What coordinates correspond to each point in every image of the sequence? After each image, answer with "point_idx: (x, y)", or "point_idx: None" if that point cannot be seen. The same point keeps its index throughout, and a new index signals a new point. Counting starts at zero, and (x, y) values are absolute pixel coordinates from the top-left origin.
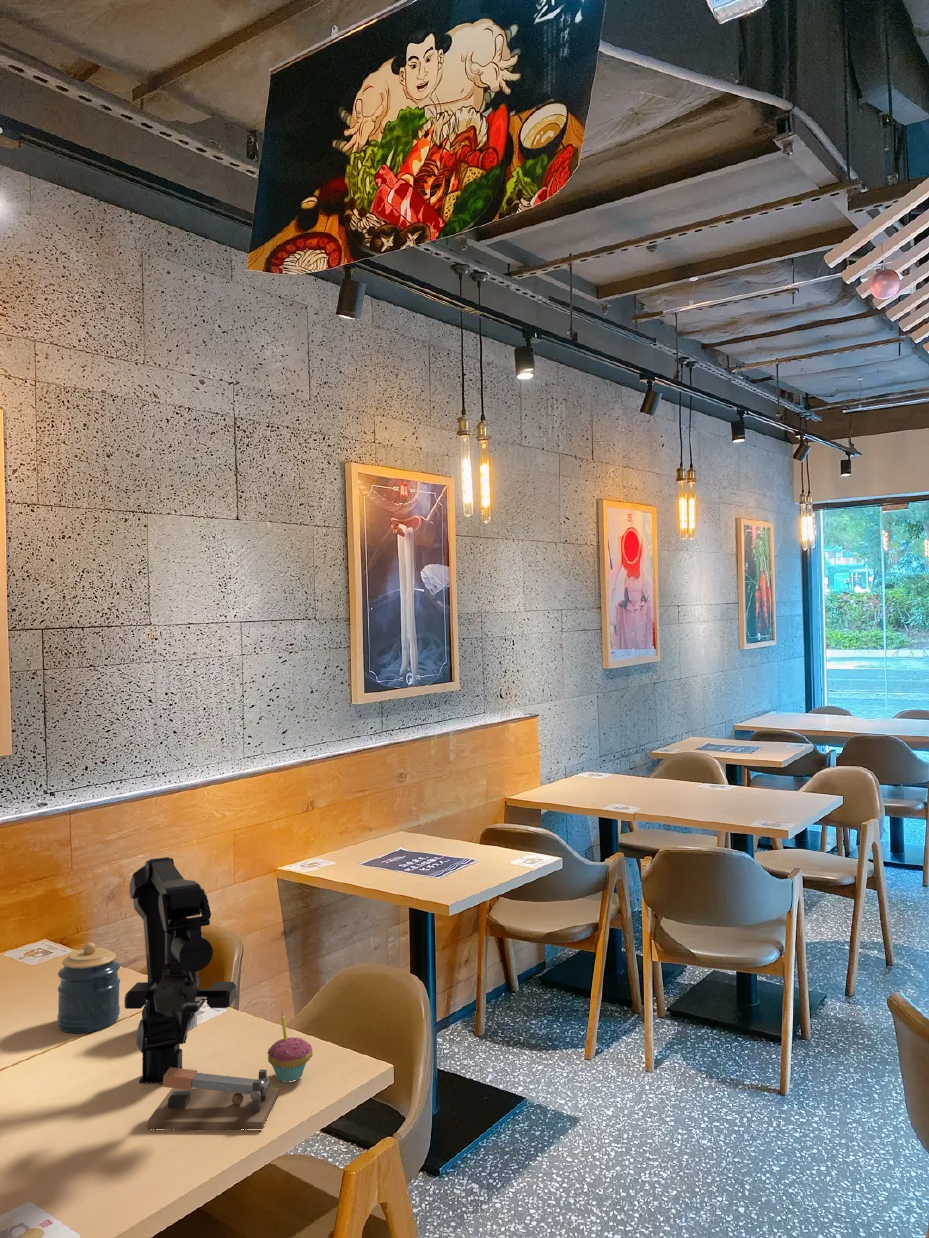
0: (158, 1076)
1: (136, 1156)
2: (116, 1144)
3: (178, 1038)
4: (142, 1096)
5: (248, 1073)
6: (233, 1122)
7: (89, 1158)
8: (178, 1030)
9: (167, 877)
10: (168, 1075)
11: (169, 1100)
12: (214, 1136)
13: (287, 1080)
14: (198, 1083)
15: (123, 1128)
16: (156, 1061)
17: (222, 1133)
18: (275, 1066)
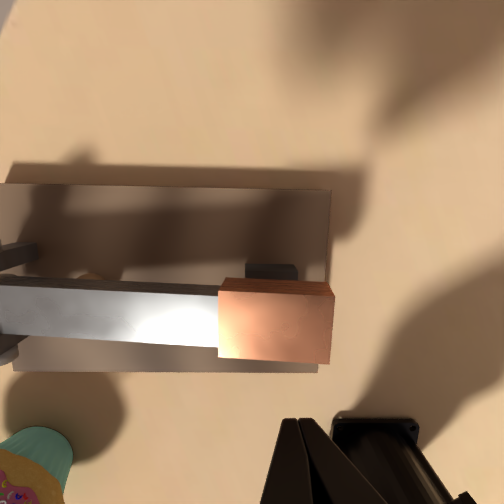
0: (372, 434)
1: (311, 45)
2: (385, 114)
3: (315, 443)
4: (387, 359)
5: (154, 467)
6: (73, 185)
7: (439, 36)
8: (332, 502)
9: None
10: (315, 299)
11: (293, 270)
12: (127, 154)
13: (30, 429)
14: (195, 289)
15: (390, 200)
16: (398, 471)
17: (111, 171)
18: (36, 461)
